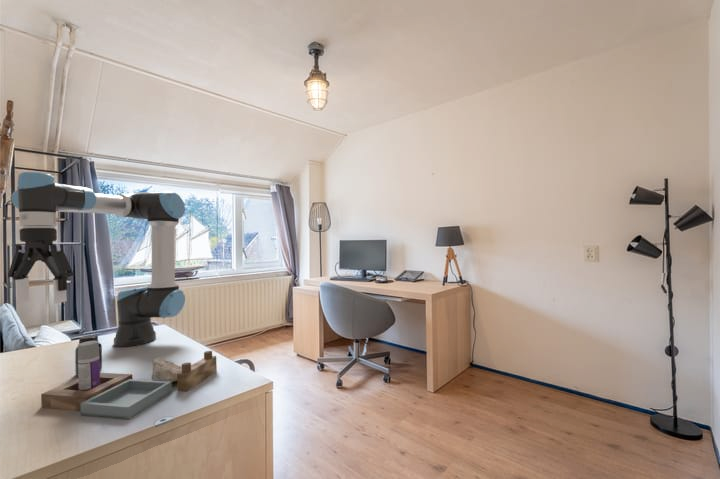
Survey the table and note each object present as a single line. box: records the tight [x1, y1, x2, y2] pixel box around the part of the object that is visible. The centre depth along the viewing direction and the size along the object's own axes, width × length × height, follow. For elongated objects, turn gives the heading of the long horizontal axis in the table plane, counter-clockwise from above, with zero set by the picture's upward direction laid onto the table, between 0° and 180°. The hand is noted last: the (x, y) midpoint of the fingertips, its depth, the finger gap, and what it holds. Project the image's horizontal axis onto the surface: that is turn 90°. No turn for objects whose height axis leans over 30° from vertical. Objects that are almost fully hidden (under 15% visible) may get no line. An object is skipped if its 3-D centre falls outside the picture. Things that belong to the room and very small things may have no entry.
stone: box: [151, 357, 182, 383], centre depth 101 cm, size 8×12×10 cm, turn 48°
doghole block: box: [40, 372, 133, 411], centre depth 92 cm, size 14×14×4 cm
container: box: [77, 340, 101, 391], centre depth 92 cm, size 5×5×15 cm
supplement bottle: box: [74, 334, 103, 377], centre depth 108 cm, size 7×7×12 cm
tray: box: [80, 379, 173, 420], centre depth 87 cm, size 14×14×3 cm
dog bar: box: [176, 350, 218, 392], centre depth 100 cm, size 14×3×7 cm, turn 170°
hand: (41, 302), depth 93 cm, fingers open, 13 cm apart
